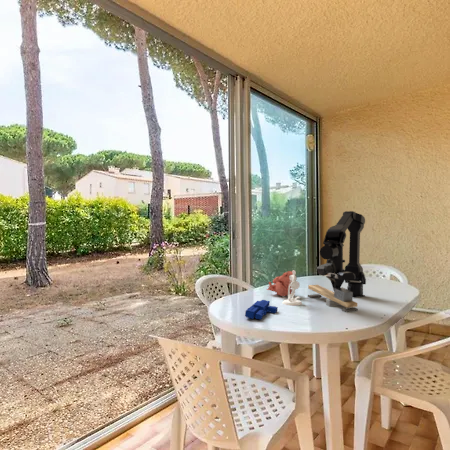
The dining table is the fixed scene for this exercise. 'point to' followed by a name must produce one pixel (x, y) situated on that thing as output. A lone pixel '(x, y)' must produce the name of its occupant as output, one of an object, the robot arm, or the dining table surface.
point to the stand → (334, 303)
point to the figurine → (294, 286)
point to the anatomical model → (281, 284)
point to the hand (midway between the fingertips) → (336, 293)
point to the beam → (331, 295)
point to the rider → (343, 294)
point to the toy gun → (260, 309)
